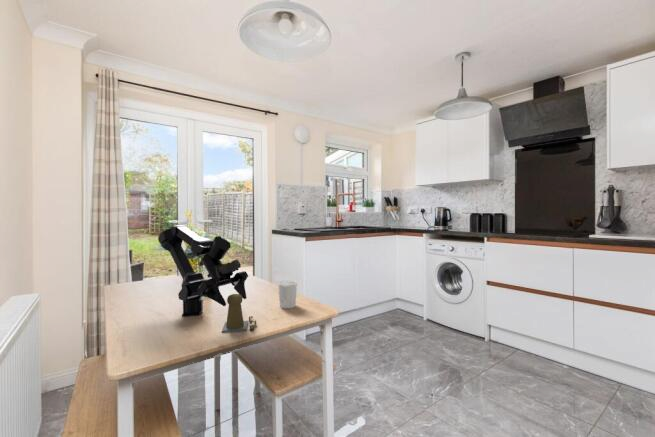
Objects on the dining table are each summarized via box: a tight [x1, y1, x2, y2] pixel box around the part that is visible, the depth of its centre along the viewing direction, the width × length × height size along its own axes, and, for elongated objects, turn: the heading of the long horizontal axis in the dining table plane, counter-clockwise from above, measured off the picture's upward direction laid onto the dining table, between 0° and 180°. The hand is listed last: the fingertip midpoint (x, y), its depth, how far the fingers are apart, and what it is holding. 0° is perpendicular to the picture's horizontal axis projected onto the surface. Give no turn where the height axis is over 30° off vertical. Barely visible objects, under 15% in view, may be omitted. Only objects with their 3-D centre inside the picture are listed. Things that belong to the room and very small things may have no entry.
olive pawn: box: [226, 293, 244, 329], centre depth 106 cm, size 6×6×11 cm
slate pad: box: [221, 320, 249, 334], centre depth 107 cm, size 8×8×1 cm
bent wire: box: [248, 315, 257, 332], centre depth 108 cm, size 3×10×2 cm, turn 11°
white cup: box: [277, 280, 298, 310], centre depth 130 cm, size 8×8×10 cm
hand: (235, 301), depth 106 cm, fingers open, 9 cm apart
